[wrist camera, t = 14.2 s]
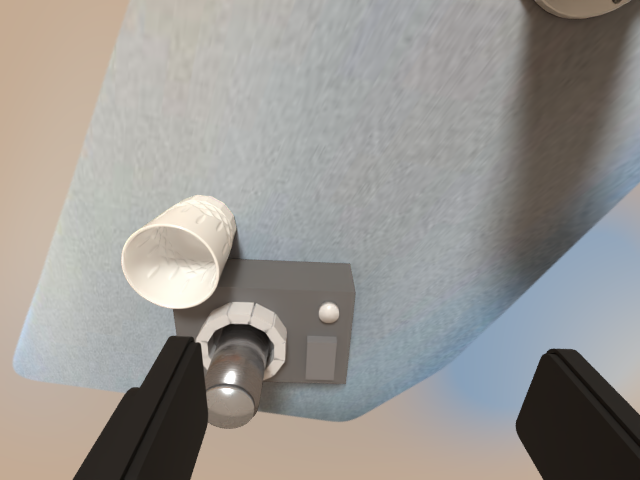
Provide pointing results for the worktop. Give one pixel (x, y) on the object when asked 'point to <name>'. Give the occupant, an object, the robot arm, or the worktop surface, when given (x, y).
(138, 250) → the white cup
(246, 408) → the shiny metal cylinder
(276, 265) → the camera body
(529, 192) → the worktop surface
